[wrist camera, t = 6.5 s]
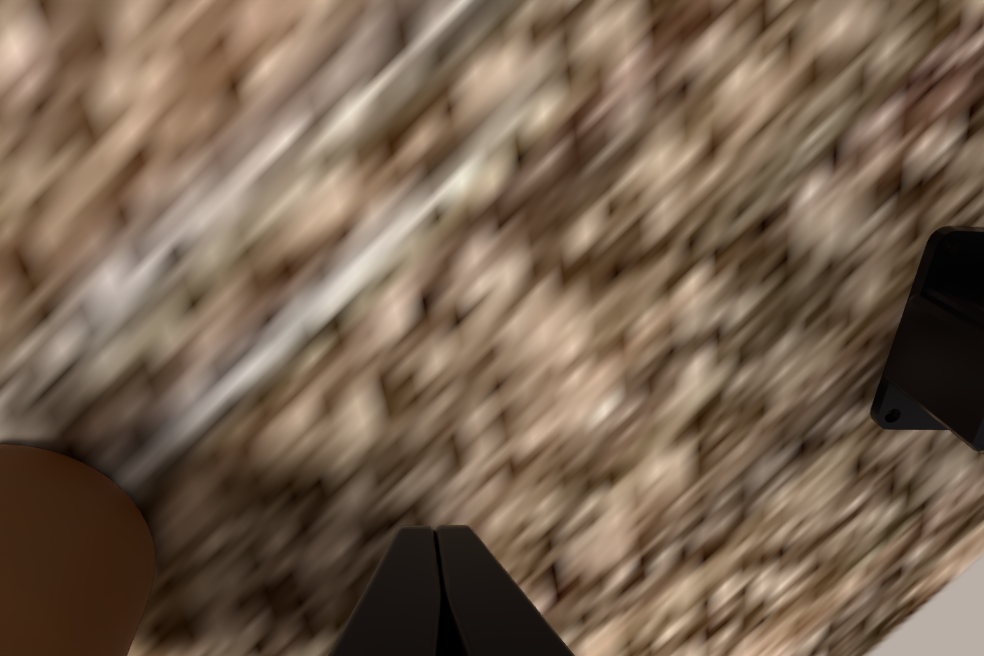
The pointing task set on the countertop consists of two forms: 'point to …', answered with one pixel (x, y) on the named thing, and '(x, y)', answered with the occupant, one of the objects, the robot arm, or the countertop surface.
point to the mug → (68, 558)
